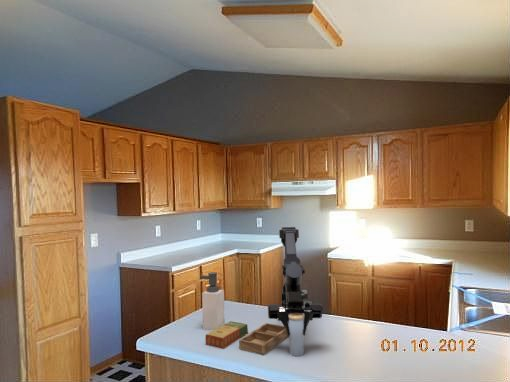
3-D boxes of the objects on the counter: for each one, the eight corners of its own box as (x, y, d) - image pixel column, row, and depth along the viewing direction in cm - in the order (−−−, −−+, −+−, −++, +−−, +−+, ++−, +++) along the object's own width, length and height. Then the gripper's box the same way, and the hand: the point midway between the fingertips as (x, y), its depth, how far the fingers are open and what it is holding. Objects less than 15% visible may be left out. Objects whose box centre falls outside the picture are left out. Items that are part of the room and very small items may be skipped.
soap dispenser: (206, 322, 156) (204, 270, 156) (224, 325, 153) (223, 271, 153) (197, 328, 150) (196, 273, 150) (217, 330, 147) (215, 275, 147)
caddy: (266, 330, 146) (266, 322, 146) (289, 335, 140) (288, 327, 140) (239, 349, 129) (238, 340, 129) (264, 355, 124) (263, 345, 124)
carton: (205, 345, 134) (204, 333, 134) (230, 330, 148) (230, 319, 148) (223, 350, 130) (223, 337, 130) (248, 334, 143) (247, 323, 143)
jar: (293, 348, 128) (292, 311, 128) (306, 351, 126) (305, 314, 126) (286, 354, 124) (285, 316, 124) (300, 357, 122) (299, 318, 122)
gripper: (267, 281, 129) (268, 324, 118) (321, 280, 128) (326, 324, 117) (268, 297, 137) (268, 339, 126) (319, 296, 136) (324, 338, 125)
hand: (296, 335), depth 124 cm, fingers closed on jar, 5 cm apart
